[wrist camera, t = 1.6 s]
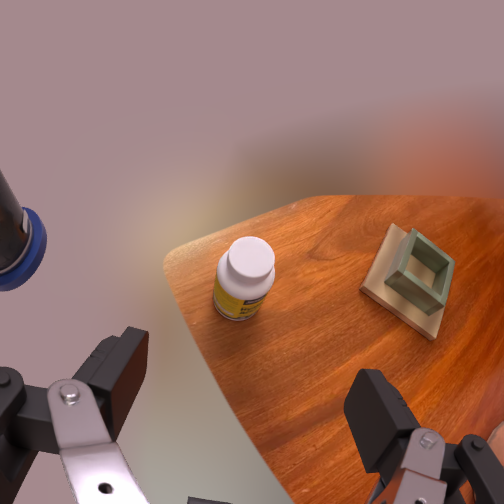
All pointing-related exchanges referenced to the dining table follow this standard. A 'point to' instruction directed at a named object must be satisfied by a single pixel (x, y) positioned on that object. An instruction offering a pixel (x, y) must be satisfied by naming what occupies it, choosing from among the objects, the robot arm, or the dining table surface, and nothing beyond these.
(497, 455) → the pottery
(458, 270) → the dining table surface
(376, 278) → the holder
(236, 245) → the supplement bottle
